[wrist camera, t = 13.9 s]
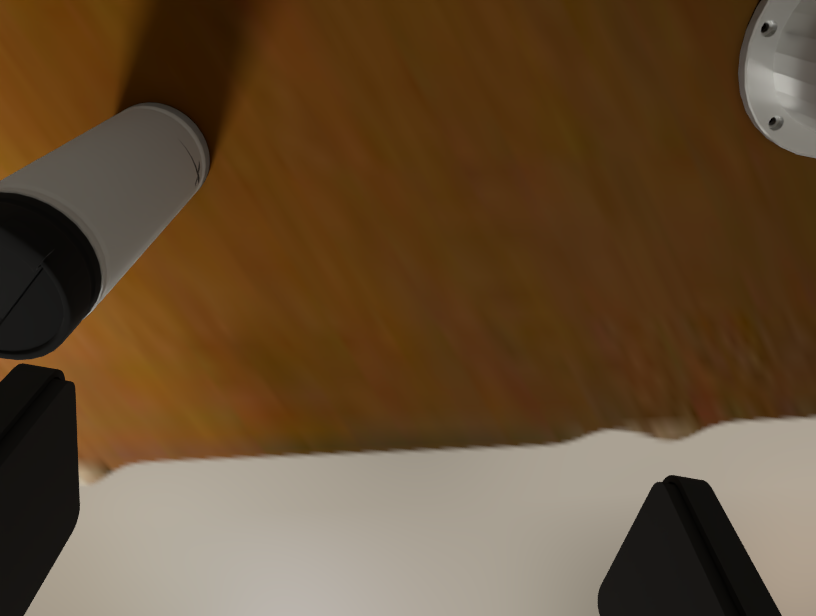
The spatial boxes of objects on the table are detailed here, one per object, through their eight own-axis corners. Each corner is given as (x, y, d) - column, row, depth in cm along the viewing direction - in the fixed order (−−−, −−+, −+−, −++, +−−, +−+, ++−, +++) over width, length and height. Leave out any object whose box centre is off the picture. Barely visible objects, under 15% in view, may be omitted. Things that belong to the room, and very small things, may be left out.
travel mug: (234, 147, 41) (104, 294, 24) (174, 218, 44) (15, 401, 26) (149, 74, 39) (-61, 177, 22) (90, 153, 42) (-143, 304, 24)
